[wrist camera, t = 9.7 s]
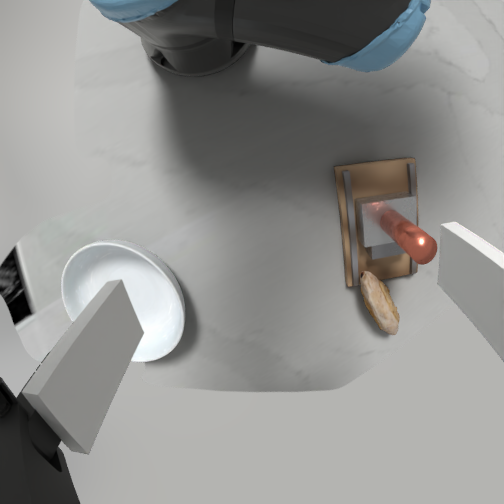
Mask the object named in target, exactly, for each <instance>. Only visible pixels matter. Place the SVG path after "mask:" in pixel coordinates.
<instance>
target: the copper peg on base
mask: <svg viewBox="0 0 504 504" xmlns="http://www.w3.org/2000/svg"><path fill="white" fill-rule="evenodd" d="M355 204H356V215H357V226H358V240H359V241H360V242H361V243H362V245H363V246H364V247H366V252H367V254H368V255H369V256H370V257H371V259H372V260H373V259H378V258H384V257H389V256H394V255H399V254H404V253H407V254H408V255H409V256H410V257H411V258H412V259H413V260H414V261H415V262H416V263H418V264H421V265H423V264H427V263H429V262H430V261H431V260H432V259H433V258H434V257H435V255H436V252H437V243H436V241H435V240H434V239H433V238H432V237H431V236H430V235H428V234H427V233H426V232H424V231H423V230H422V229H420V228H419V227H418V226H417V224H416V196H414V195H412V194H411V193H409V192H407V191H405V192H398V193H391V194H384V195H377V196H370V197H363V198H357V199H355Z"/></svg>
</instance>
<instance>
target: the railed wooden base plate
mask: <svg viewBox="0 0 504 504" xmlns="http://www.w3.org/2000/svg"><path fill="white" fill-rule="evenodd" d="M334 171H335V179H336V186H337V194H338V202H339V211H340V220H341V230H342V241H343V252H344V265H345V279H346V284H347V286H348V287H349V286H358V285H360V284H361V282H360V273H361V272H362V271H369V272H371V273H372V274H373V275H374V276H376V278H377V279H378V280H384V279H389V278H394V277H398V276H403V275H408V274H415V273H417V268H418V263H416V262H415V261H414V260H413V259H412V258H411V257H410V256H409V255H408V254H407V253H404V254H399V255H394V256H389V257H384V258H378V259H373V260H372V259H371V257H370V256H369V255H368V254H367V252H366V247H364V246H363V245H362V243H361V242H360V241H359V240H358V226H357V215H356V204H355V199H357V198H363V197H370V196H377V195H384V194H391V193H398V192H405V191H407V192H409V193H411V194H412V195H414V196H416V224H417V226H418V195H417V177H416V163H415V159H414V158H411V157H410V158H400V159H390V160H381V161H373V162H364V163H356V164H349V165H341V166H334Z"/></svg>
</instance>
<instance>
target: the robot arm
mask: <svg viewBox="0 0 504 504" xmlns="http://www.w3.org/2000/svg"><path fill="white" fill-rule="evenodd" d="M89 1H90V2H91V3H92V4H93V5H94V6H95V7H96V8H97V9H98V10H99V11H100V12H101V13H102V15H104V17H106V18H108V19H109V20H113V21H114V22H118V23H119V24H121V25H123V26H124V27H126V28H127V29H129V30H130V31H132V32H134V33H135V34H137V35H138V36H140V37H141V42H142V45H143V47H144V50H145V51H146V53H147V55H148V56H149V57H150V58H151V59H152V60H153V61H154V62H155V63H156V64H157V65H159V66H160V67H162V68H164V69H165V70H167V71H169V72H172V73H174V74H178V75H182V76H204V75H209V74H213V73H216V72H218V71H221V70H223V69H225V68H227V67H229V66H230V65H232V64H233V63H234V62H236V61H237V60H238V59H239V58H240V57H241V56H242V55H243V54H244V53H245V52H246V50H247V49H248V47H249V46H250V44H254V45H260V46H265V47H270V48H275V49H279V50H284V51H288V52H292V53H296V54H300V55H304V56H308V57H312V58H316V59H319V60H320V61H321V62H322V63H325V64H328V65H340V66H344V67H347V68H351V69H354V70H357V71H361V72H370V71H379V70H382V69H384V68H386V67H388V66H390V65H391V64H393V63H394V62H395V61H397V60H398V59H399V58H400V57H401V56H402V55H403V54H404V53H405V52H406V51H407V50H408V48H409V47H410V46H411V45H412V43H413V42H414V41H415V39H416V38H417V36H418V35H419V33H420V31H421V29H422V27H423V25H424V23H425V20H426V16H425V15H424V13H425V12H426V11H427V10H428V9H429V8H430V3H431V0H89ZM437 284H438V285H439V286H440V287H441V288H442V289H443V291H444V292H445V293H446V294H447V295H448V296H449V297H450V298H451V299H452V300H453V302H454V303H455V304H456V305H457V306H458V307H459V308H460V309H461V310H462V312H463V313H464V314H465V315H466V316H467V317H468V318H469V320H470V321H471V322H472V323H473V324H474V326H475V327H476V328H477V329H478V330H479V331H480V333H481V334H482V335H483V336H484V338H485V339H486V340H487V341H488V342H489V344H490V345H491V346H492V347H493V349H494V350H495V351H496V352H497V354H498V355H499V356H500V358H501V359H502V360H503V362H504V253H502V252H501V251H500V250H498V249H497V248H495V247H494V246H492V245H491V244H489V243H488V242H486V241H485V240H483V239H482V238H480V237H479V236H477V235H476V234H474V233H473V232H471V231H469V230H468V229H466V228H465V227H463V226H461V225H460V224H458V223H457V222H451V223H445V224H441V237H440V257H439V271H438V283H437ZM143 335H144V331H143V329H142V327H141V324H140V322H139V320H138V317H137V315H136V313H135V310H134V308H133V306H132V303H131V301H130V298H129V296H128V293H127V291H126V288H125V286H124V283H123V281H122V279H120V280H114V281H107V282H106V283H105V285H104V286H103V287H102V288H101V289H100V290H99V292H98V293H97V294H96V295H95V296H94V298H93V299H92V300H91V301H90V302H89V304H88V305H87V306H86V307H85V308H84V310H83V311H82V312H81V313H80V315H79V316H78V317H77V318H76V319H75V321H74V322H73V323H72V324H71V326H70V327H69V328H68V330H67V331H66V332H65V333H64V335H63V336H62V337H61V338H60V340H59V341H58V342H57V344H56V345H55V346H54V348H53V349H52V350H51V351H50V352H49V353H48V354H47V356H46V357H45V358H44V360H43V361H42V362H41V363H42V364H41V365H39V367H38V368H37V369H36V372H34V373H33V375H32V376H31V378H30V379H29V381H28V382H27V383H26V385H25V386H24V388H23V389H22V391H21V392H20V393H19V395H18V397H17V398H16V397H15V396H14V395H13V393H12V392H11V390H10V389H9V388H8V386H7V385H6V384H5V382H4V381H3V379H2V378H1V377H0V504H80V501H79V499H78V496H77V494H76V491H75V488H74V485H73V482H72V479H71V476H70V473H69V470H68V467H67V464H66V460H65V457H64V454H63V452H62V450H61V449H60V448H59V447H58V445H59V444H60V442H61V440H62V441H63V443H64V444H65V445H66V446H67V447H68V448H69V449H70V450H71V451H74V452H79V453H84V454H89V453H90V451H91V448H92V446H93V444H94V441H95V438H96V437H97V434H98V432H99V429H100V427H101V425H102V422H103V420H104V418H105V416H106V413H107V411H108V409H109V407H110V404H111V402H112V400H113V398H114V396H115V393H116V391H117V389H118V387H119V385H120V383H121V380H122V378H123V376H124V374H125V372H126V370H127V368H128V365H129V363H130V361H131V359H132V357H133V355H134V353H135V351H136V349H137V347H138V345H139V343H140V341H141V339H142V337H143Z"/></svg>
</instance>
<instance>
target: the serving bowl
mask: <svg viewBox="0 0 504 504" xmlns="http://www.w3.org/2000/svg"><path fill="white" fill-rule="evenodd" d="M120 279H122V281H123V283H124V286H125V288H126V291H127V293H128V296H129V298H130V301H131V303H132V306H133V308H134V310H135V313H136V315H137V317H138V320H139V322H140V324H141V327H142V329H143V331H144V335H143V337H142V339H141V341H140V343H139V345H138V347H137V349H136V351H135V353H134V355H133V357H132V359H131V361H132V362H149V361H154V360H157V359H160V358H162V357H164V356H166V355H167V354H169V353H170V352H171V351H172V350H173V349H174V348H175V347H176V346H177V344H178V343H179V341H180V339H181V337H182V334H183V331H184V325H185V303H184V298H183V294H182V291H181V288H180V286H179V284H178V282H177V280H176V278H175V276H174V275H173V273H172V272H171V270H170V269H169V268H168V267H167V266H166V264H165V263H164V262H163V261H162V260H161V259H160V258H158V257H157V256H156V255H155V254H153V253H152V252H151V251H149V250H147V249H146V248H144V247H142V246H140V245H137V244H135V243H132V242H129V241H124V240H115V239H111V240H102V241H97V242H94V243H91V244H89V245H86V246H84V247H82V248H81V249H79V250H78V251H77V252H75V253H74V254H73V255H72V257H71V258H70V259H69V261H68V262H67V264H66V266H65V268H64V271H63V275H62V280H61V291H62V298H63V302H64V305H65V308H66V311H67V313H68V315H69V317H70V319H71V321H72V322H74V321H75V319H76V318H77V317H78V316H79V315H80V313H81V312H82V311H83V310H84V308H85V307H86V306H87V305H88V304H89V302H90V301H91V300H92V299H93V298H94V296H95V295H96V294H97V293H98V292H99V290H100V289H101V288H102V287H103V286H104V285H105V283H106V282H107V281H114V280H120Z"/></svg>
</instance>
